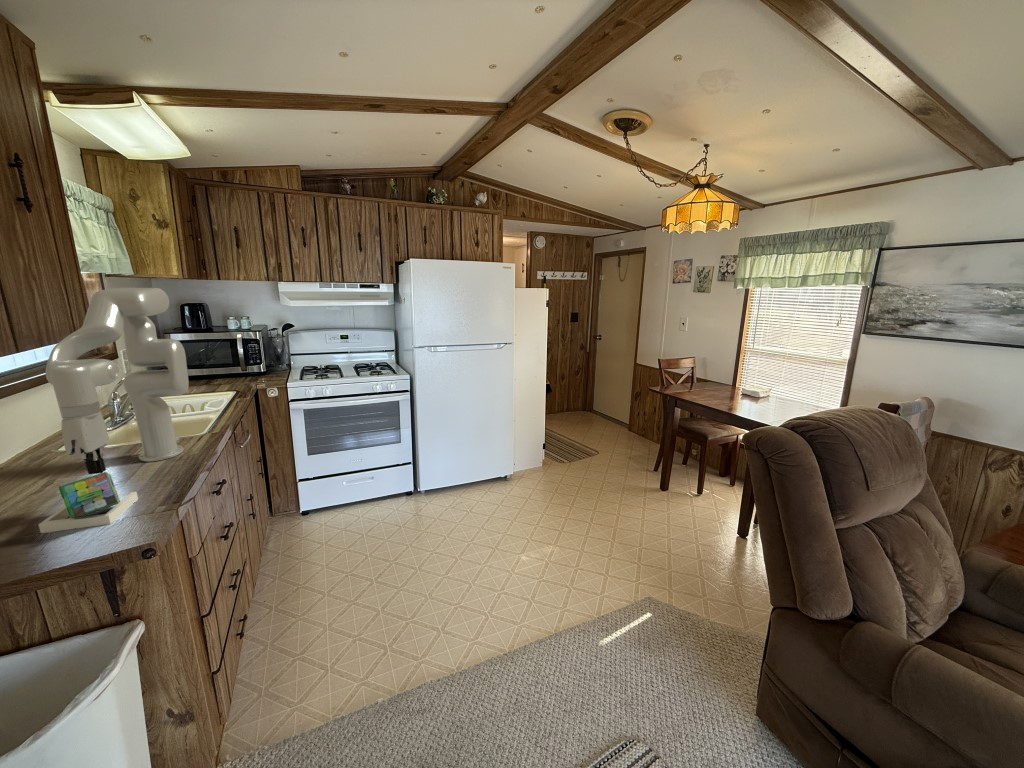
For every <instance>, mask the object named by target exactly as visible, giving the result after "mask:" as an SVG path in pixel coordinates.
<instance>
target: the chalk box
mask: <svg viewBox="0 0 1024 768" xmlns="http://www.w3.org/2000/svg"><path fill="white" fill-rule="evenodd" d="M58 490H59V493H60V495H61V496H60V497H61V498H62V499H63V501H64V504H65V505H66V507H67V511H68V513H69V515H70V516H69V518H77V517H84V516H89V515H91V514H93V513H94V514H95V513H96V512H99V511H101V510H105V509H108V508H110V507H114V506H116V505H117V504H118V503H119V502H120V501H121V500H120V497H119V494H118V491H117V488H116V486H115V484H114V481H113V478H112V475H111V474H110V473H108V472H107V471H103V472H102V473H98V474H93V475H92V476H91V475H90V476H88V477H85V478H81V479H78V480H74V481H72V482H68V483H65V484H62V485H59V486H58Z"/></svg>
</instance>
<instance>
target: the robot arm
mask: <svg viewBox="0 0 1024 768" xmlns="http://www.w3.org/2000/svg"><path fill="white" fill-rule="evenodd" d="M169 306H170V299H169V296H168V294H167V293H166V292H165V291H164V290H163V289H162V288H159V287H112V288H107V289H101V290H98V291H96V292H95V293H94V294H93V295H92V297H91V299H90V300H89V304H88V308H87V310H86V311H87V312H86V314H85V318H84V319H83V324H82V326H81V327H80V328H79V329H77V330H75V331H74V332H72V333H71V334H69V335H67V336H65V337H64V338H62V340H60V341H59V342H58V343H57V344H56V345H55V346H53V348H52V350H51V352H50V354H49V357H48V359H47V362H46V366H45V367H46V368H45V377H46V380H47V382H48V383H49V384H50V385H52V388H53V390H54V394H55V397H56V402H57V404H58V408H59V412H60V416H61V419H62V420H61V435H62V440H63V446H64V448H65V449H64V450H65V453H66V455H68V456H72V455H75V456H74V457H75V460H76V461H79V460H82V461H83V463H85V466H86V467H85V468H86V471H87V474H88V475H97V474H100V473H103V472H106V470H107V469H106V464H105V461H104V455H105V454H104V449H105V447H106V446H107V443H108V442H109V441H110V435H109V432H108V427H107V425H106V421H105V418H104V416H103V414H102V408H101V406H100V399H99V396H98V393H97V392H98V391H97V389H96V388H97V387H101V386H106V385H107V386H108V385H110V384H112V383H114V382H115V381H116V380H117V379H118V377H119V375H120V368H119V367H118V365H117V364H116V363H115V362H114V361H112V360H111V359H104V358H89V359H88V358H87V359H85V358H83V359H78V358H79V357H81V356H82V355H83V354H86V353H88V352H90V351H92V350H96V349H98V348H101V347H105V346H107V345H110V344H112V343H114V342H117V341H118V340H119V339H120V338H121V336H122V333H123V336H124V337H123V338H124V343H125V351H126V357H127V361H128V362H129V364H130V365H132V366H134V367H138V368H147V367H149V368H150V367H167V369H153V370H150V369H149V370H139V371H138V370H137V371H133V372H131V373H129V374H127V375H126V376H125V378H124V380H123V386H124V390H125V392H126V393H127V396H128V399H129V400H130V402H131V405H132V408H133V412H134V416H135V420H136V425H137V429H138V432H139V438H140V443H141V447H142V450H143V451H142V453H140V454H139V455H138V459H139V461H141V462H145V463H146V462H157V461H163V460H167V459H171V458H173V457H176V456H178V455H180V454H182V453H183V452H184V447H183V446H181V445H178V444H177V442H178V441H179V440H180V436H177V435H175V434H176V433H175V429H174V424H173V419H172V415H171V409H170V406H169V404H168V403H167V402H166V401H165V400H164V399H163V398H164V397H172V396H173V397H174V396H175V397H176V396H181V395H185V394H186V393H187V392H188V390H189V383H190V381H189V374H188V373H189V372H188V366H187V365H188V364H187V356H186V351H185V350H186V349H185V347H184V346H183V343H181V341H179V340H177V339H174V338H158V337H157V336H158V335H157V330H156V325H155V323H154V322H153V321H152V320H151V318H149V317H151V316H156V315H160V314H163V313H166V311H167V310H168V308H169ZM162 397H163V398H162Z"/></svg>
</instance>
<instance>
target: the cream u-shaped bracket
mask: <svg viewBox="0 0 1024 768" xmlns="http://www.w3.org/2000/svg"><path fill="white" fill-rule="evenodd" d="M138 500H139V497H138V493H137V491H131V492H130V493H129V494H127V495H126V496H125V497H124V498H122V500H120V502H119V503H118V504H116V505H113V506H112V508H111V509H110V510H108V511H107V512H105V513H103V514H102V513H101V514H93V515H85V516H82V517H77V518H70V516H69V513H68V511H67V507H66V504H65V505H64V506H62V507H61V508H60V509H58V510H57V511H55V512H53V514H51V515H50V516H48V517H47V518H45V519H44V520H43V521H41V522H39V524H38V528H39V531H40V534H46V533H54V532H61V531H67V530H75V528H76V529H82V528H90V527H91V528H92V527H96V526H104V525H110V524H112V523H113V522H114V521H116V520H117V519H118V518H119V517H120V516H121V515H122V514H124V513H125V512H126V511H127V510H128V509H129V508H130V507H131V506H133V505H134V504H135V503H136V502H137V501H138ZM134 502H135V503H134ZM133 503H134V504H133ZM68 517H69V518H68ZM65 518H66V519H65Z"/></svg>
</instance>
